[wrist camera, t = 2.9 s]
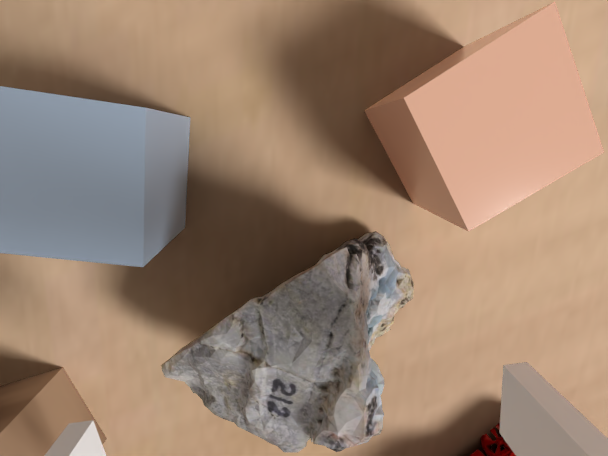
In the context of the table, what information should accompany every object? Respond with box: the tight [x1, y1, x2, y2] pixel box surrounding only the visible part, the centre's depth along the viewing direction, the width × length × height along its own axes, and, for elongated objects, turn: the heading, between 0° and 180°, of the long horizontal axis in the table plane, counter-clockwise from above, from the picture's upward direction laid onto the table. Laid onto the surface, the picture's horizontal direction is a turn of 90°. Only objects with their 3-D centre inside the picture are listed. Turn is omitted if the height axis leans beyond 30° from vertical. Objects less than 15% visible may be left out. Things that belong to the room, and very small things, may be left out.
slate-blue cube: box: [0, 86, 190, 267], centre depth 12 cm, size 5×5×5 cm
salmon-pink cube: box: [364, 2, 604, 231], centre depth 13 cm, size 5×5×5 cm
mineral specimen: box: [161, 232, 414, 452], centre depth 15 cm, size 10×8×10 cm
